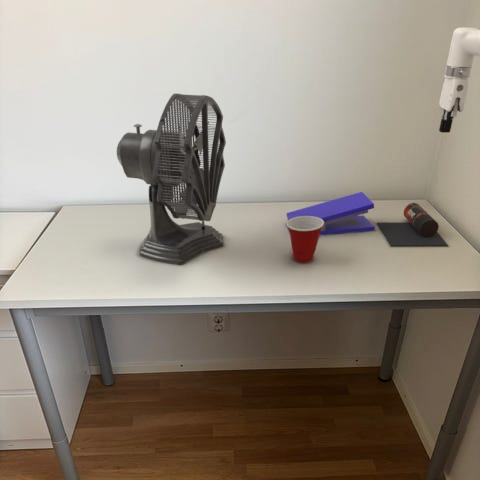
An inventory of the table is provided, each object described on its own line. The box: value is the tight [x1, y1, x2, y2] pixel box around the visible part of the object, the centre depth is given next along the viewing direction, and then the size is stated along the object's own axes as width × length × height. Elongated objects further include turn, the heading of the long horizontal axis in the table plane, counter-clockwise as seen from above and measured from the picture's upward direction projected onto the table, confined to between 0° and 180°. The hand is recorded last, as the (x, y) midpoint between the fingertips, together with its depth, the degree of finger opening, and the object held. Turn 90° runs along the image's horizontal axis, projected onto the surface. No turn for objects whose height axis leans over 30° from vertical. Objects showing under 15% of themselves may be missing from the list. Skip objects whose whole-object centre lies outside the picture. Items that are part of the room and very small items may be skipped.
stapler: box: [286, 191, 376, 236], centre depth 171 cm, size 12×28×10 cm, turn 101°
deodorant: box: [403, 202, 440, 237], centre depth 171 cm, size 6×6×15 cm
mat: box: [376, 221, 449, 248], centre depth 169 cm, size 18×18×1 cm
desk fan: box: [116, 93, 227, 266], centre depth 145 cm, size 34×33×45 cm
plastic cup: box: [286, 216, 324, 264], centre depth 151 cm, size 11×11×12 cm
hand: (444, 131), depth 173 cm, fingers closed
